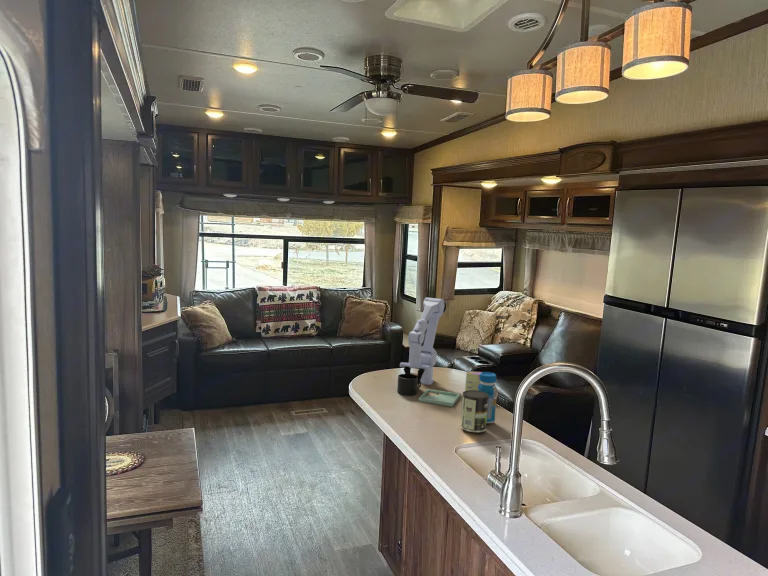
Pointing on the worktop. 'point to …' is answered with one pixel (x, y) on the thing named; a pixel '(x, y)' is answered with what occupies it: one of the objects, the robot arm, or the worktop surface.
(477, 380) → the box
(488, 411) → the beverage bottle
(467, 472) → the worktop surface
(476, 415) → the coffee can
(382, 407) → the worktop surface
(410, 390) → the mug
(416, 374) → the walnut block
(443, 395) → the tray
